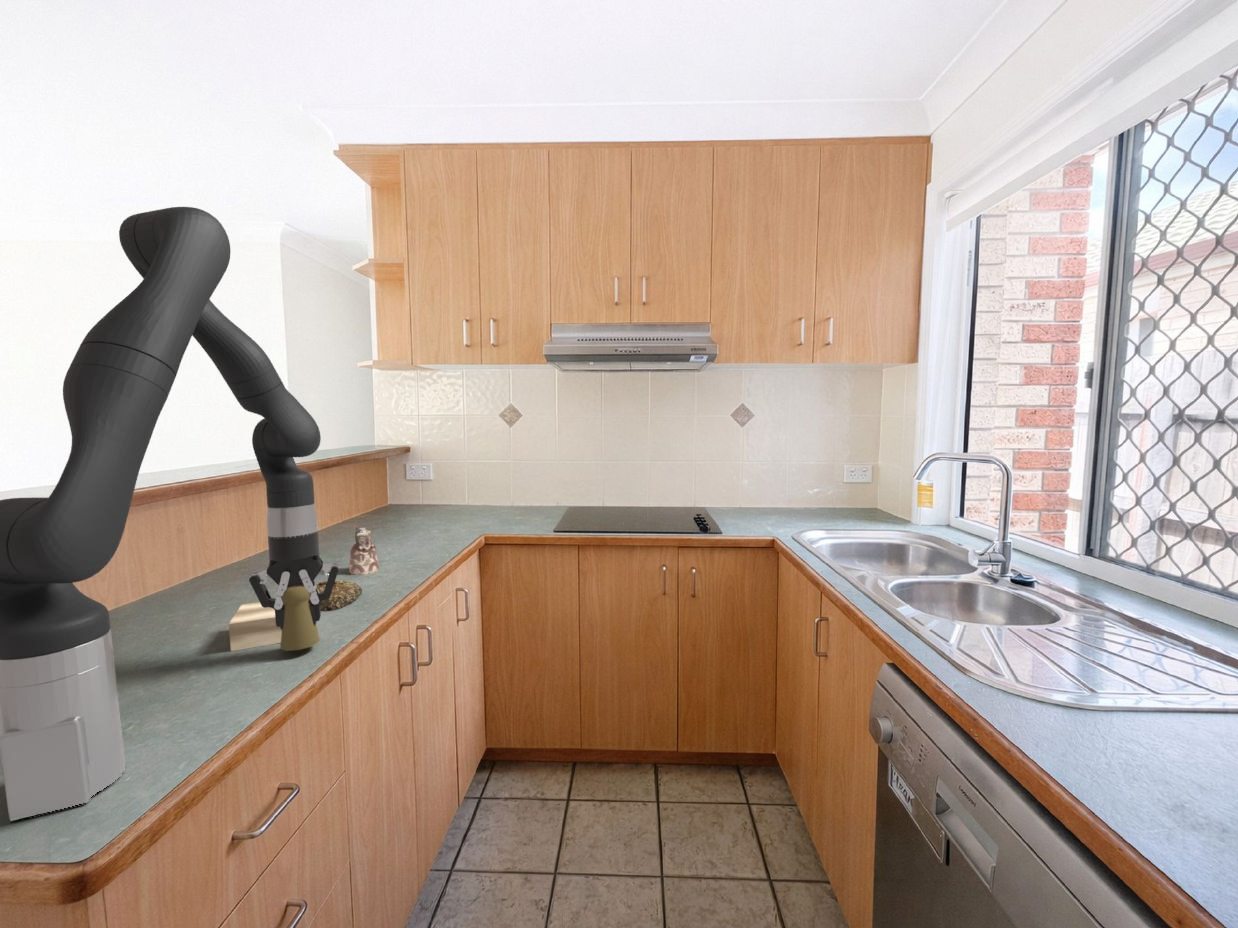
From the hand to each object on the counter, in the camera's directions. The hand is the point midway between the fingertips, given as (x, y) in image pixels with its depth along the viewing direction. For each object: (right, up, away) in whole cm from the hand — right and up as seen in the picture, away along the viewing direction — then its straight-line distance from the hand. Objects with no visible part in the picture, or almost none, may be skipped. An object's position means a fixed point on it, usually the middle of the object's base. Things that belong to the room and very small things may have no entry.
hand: (299, 625), depth 94 cm
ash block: (-10, -4, +8) cm, 14 cm away
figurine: (-12, -1, +49) cm, 51 cm away
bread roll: (-9, -3, +26) cm, 28 cm away
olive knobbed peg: (0, -3, 0) cm, 4 cm away
